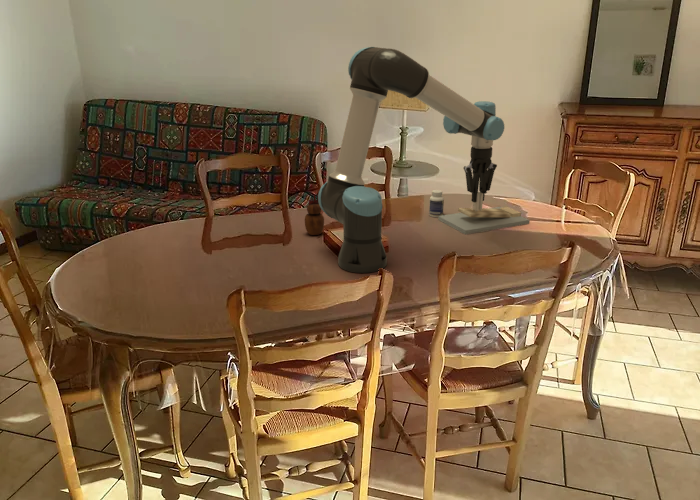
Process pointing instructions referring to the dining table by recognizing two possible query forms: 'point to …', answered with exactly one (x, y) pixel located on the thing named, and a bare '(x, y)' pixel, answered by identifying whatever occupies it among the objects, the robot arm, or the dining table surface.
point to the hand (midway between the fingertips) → (477, 209)
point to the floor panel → (483, 221)
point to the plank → (484, 212)
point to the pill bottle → (436, 204)
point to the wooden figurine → (314, 218)
